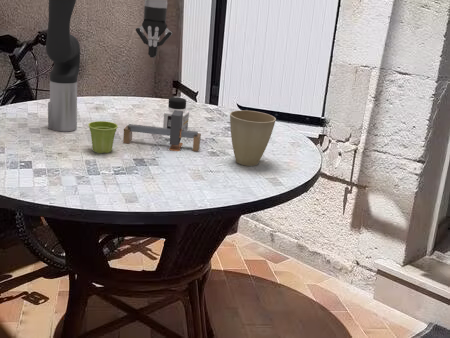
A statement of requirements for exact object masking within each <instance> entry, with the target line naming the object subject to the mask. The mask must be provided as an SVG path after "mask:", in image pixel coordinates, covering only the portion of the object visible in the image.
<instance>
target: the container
mask: <svg viewBox="0 0 450 338" xmlns="http://www.w3.org/2000/svg"><path fill="white" fill-rule="evenodd" d="M167 108H168V109H167V110H166V111H165V112H163V122H162V123H163V124H162V128H169V129H171V115H172V113H173V112H174V110H177V111H183V119H182V130H188V129H189V117H190V111H189V110H187V99H186V98H184V97H181V96H172V97H169V98H168V105H167ZM188 131H189V130H188Z"/></svg>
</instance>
